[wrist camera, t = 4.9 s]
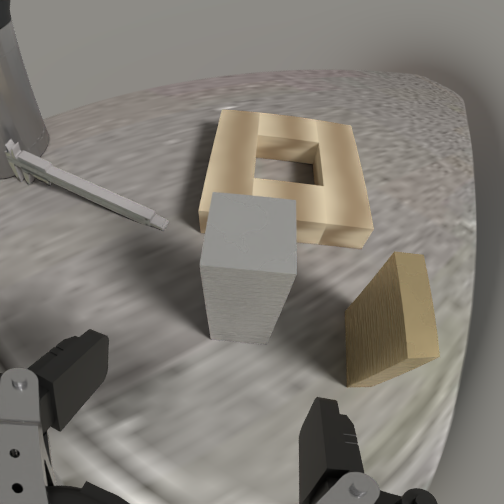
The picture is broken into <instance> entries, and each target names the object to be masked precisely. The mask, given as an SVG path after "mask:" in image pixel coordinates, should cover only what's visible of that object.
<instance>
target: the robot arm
mask: <svg viewBox="0 0 504 504" xmlns="http://www.w3.org/2000/svg"><path fill="white" fill-rule="evenodd" d="M10 139H12V141H13V142H14V144H16V143H17V142H18V143H19V146H20V150H21V151H23V150H24V151H27V152H29V153H31V154H33V155H35V156H38V157H40V156H41V155H42V154H43V152H44V151H45V150H46V148H47V146H48V143H49V134H48V131H47V129H46V126H45V124H44V121H43V118H42V116H41V113H40V110H39V107H38V105H37V102H36V99H35V96H34V93H33V91H32V88H31V85H30V82H29V79H28V75H27V72H26V69H25V66H24V63H23V60H22V56H21V53H20V49H19V46H18V42H17V39H16V35H15V31H14V27H13V23H12V20H11V15H10V0H0V178H9V177H12V176H14V175H15V173H14V172H13V170H12V168H11V166H10V164H9V162H8V160H7V157H6V154H5V150H6V147H5V145H6V144H7V143H8V141H9V140H10ZM108 347H109V339H108V336H106V335H103V334H101V333H99V332H96V331H94V330H91V329H89V330H88V331H86V332H85V333H84V334H83V335H81V336H80V337H76V336H74V337H71V338H68V339H65V340H63V341H62V342H60V343H59V344H58V345H57V346H56V347H54V348H53V349H51V350H50V352H48V353H46V354H45V355H44V356H43V357H41V358H40V359H39V360H38V361H36V362H35V363H34V364H33V365H31V366H30V367H29V368H28V369H25V368H12V369H9V370H7V371H5V372H4V373H3V374H2V373H0V504H130V503H128V502H127V501H125V500H124V499H122V498H121V497H119V496H117V495H115V494H113V493H111V492H108V491H106V490H104V489H102V488H99V487H97V486H95V485H93V484H91V483H89V482H87V481H86V483H85V484H84V486H83V487H82V488H78V487H72V486H57V483H56V479H55V475H54V470H53V464H52V457H51V450H50V443H49V435H48V428H49V427H50V426H51V427H53V428H55V429H56V430H58V431H60V432H61V431H62V429H63V428H64V427H65V426H66V425H67V424H68V422H69V421H70V420H71V419H72V418H73V416H74V415H75V414H76V413H77V412H78V411H79V409H80V408H81V407H82V406H83V405H84V403H85V402H86V401H87V400H88V399H89V398H90V396H91V395H92V394H93V393H94V392H95V391H96V390H97V388H98V387H99V386H100V385H101V384H102V382H103V381H104V379H105V377H106V374H107V370H108ZM357 443H358V442H357V437H356V433H355V428H354V425H353V423H352V422H351V421H350V419H349V418H348V416H347V415H342V414H340V413H339V408H338V403H337V401H336V400H331V399H326V398H320V397H317V398H316V399H315V400H314V402H313V404H312V406H311V409H310V411H309V413H308V415H307V417H306V419H305V421H304V423H303V425H302V428H301V431H300V435H299V504H437V501H436V499H435V498H434V496H433V495H432V494H430V493H429V492H428V491H426V490H423V489H418V488H415V489H410V490H408V491H407V492H405V493H404V495H403V496H402V497H401V496H398V495H394V494H390V493H387V492H383V491H380V489H379V486H378V484H377V482H376V481H375V480H374V479H373V478H372V477H370V476H369V475H367V474H364V469H363V465H362V460H361V455H360V451H359V446H358V445H357Z"/></svg>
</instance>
